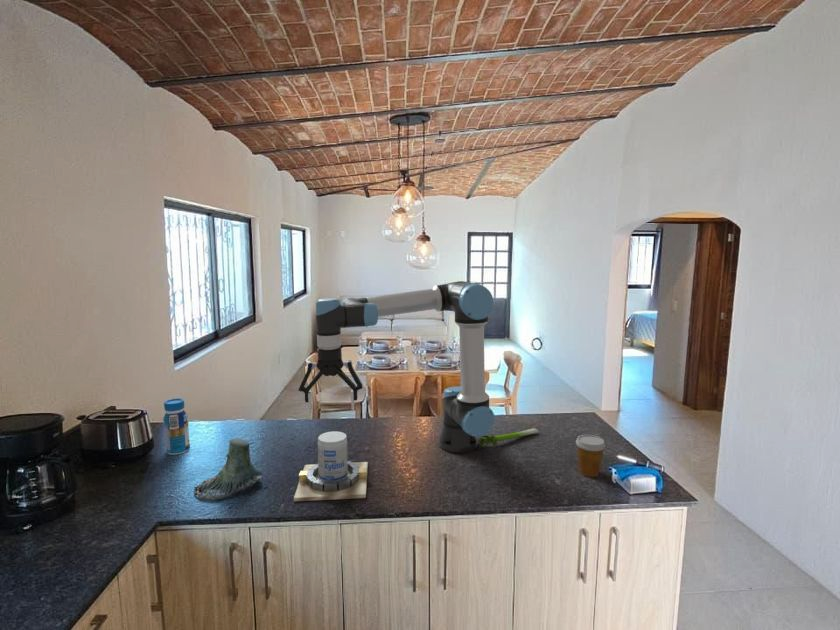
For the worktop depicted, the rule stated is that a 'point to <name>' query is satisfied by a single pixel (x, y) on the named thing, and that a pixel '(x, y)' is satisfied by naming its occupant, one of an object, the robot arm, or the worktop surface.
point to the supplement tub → (332, 456)
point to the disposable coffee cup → (589, 454)
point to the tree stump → (230, 475)
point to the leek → (505, 437)
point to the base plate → (353, 492)
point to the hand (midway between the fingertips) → (331, 410)
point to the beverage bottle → (176, 427)
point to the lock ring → (332, 485)
